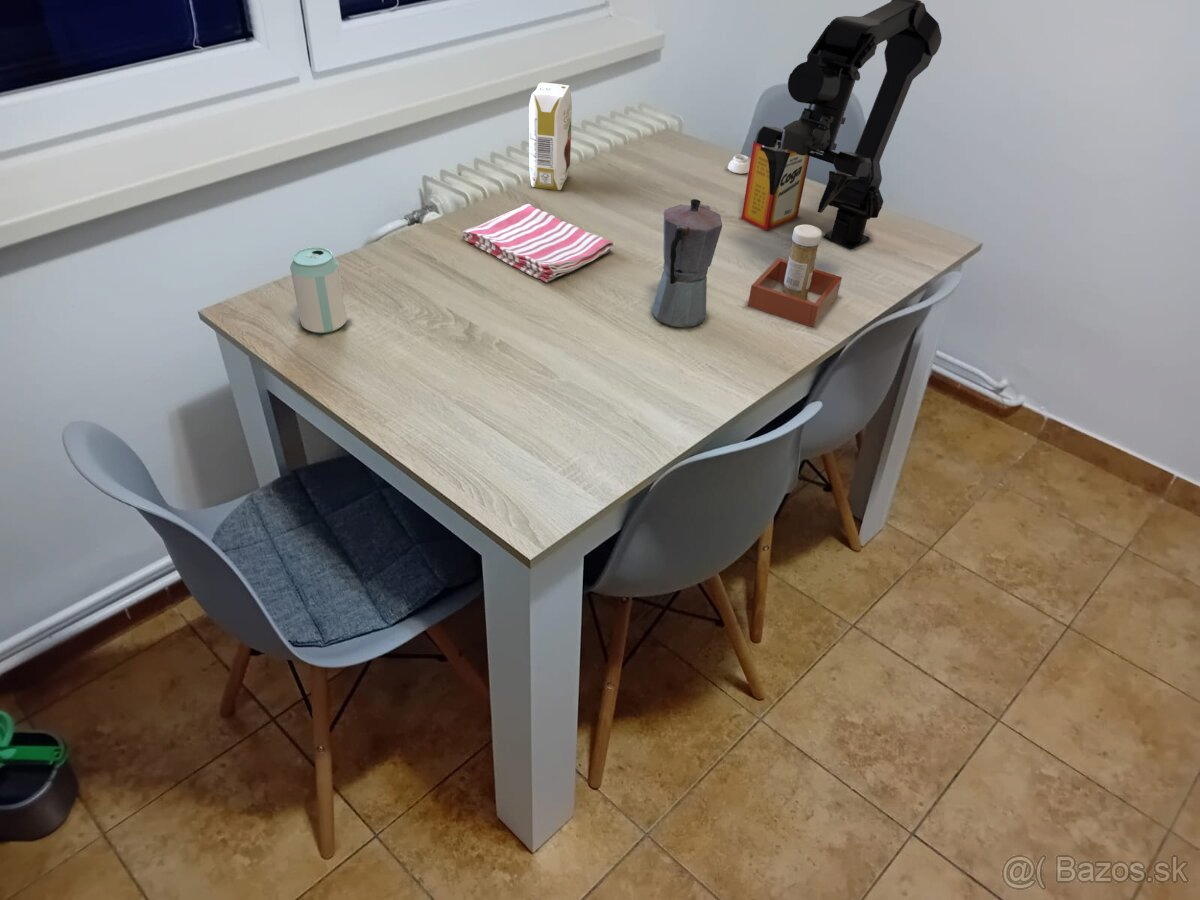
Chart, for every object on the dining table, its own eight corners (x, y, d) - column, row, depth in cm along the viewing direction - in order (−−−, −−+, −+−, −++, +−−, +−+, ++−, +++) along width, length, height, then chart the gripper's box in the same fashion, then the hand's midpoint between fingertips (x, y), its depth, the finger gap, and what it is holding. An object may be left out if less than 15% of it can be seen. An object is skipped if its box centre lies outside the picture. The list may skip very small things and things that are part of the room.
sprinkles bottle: (811, 304, 156) (828, 232, 147) (792, 311, 153) (807, 238, 145) (793, 292, 158) (808, 221, 150) (774, 298, 156) (788, 227, 148)
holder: (774, 277, 162) (778, 257, 159) (837, 297, 158) (842, 277, 155) (747, 306, 154) (751, 285, 152) (813, 327, 150) (818, 306, 147)
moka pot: (718, 300, 155) (734, 189, 142) (695, 346, 144) (711, 230, 131) (664, 288, 157) (676, 178, 144) (637, 333, 146) (648, 218, 133)
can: (298, 316, 145) (284, 248, 137) (342, 308, 147) (331, 241, 140) (305, 339, 140) (292, 270, 133) (351, 331, 143) (340, 262, 135)
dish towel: (550, 286, 156) (550, 268, 154) (459, 239, 167) (458, 222, 165) (615, 253, 166) (616, 236, 164) (526, 211, 177) (525, 195, 175)
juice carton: (527, 188, 185) (526, 94, 173) (536, 171, 192) (536, 79, 180) (563, 193, 185) (565, 98, 172) (571, 176, 191) (574, 83, 179)
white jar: (749, 176, 195) (751, 167, 199) (751, 163, 193) (753, 154, 197) (726, 173, 196) (728, 164, 200) (728, 160, 194) (730, 151, 198)
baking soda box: (772, 206, 185) (786, 128, 174) (797, 217, 181) (813, 138, 171) (741, 218, 180) (753, 139, 169) (766, 231, 176) (781, 150, 166)
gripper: (753, 87, 142) (724, 186, 149) (860, 120, 133) (823, 224, 140) (786, 92, 150) (757, 186, 157) (888, 123, 142) (852, 221, 149)
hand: (795, 203), depth 151 cm, fingers open, 9 cm apart
